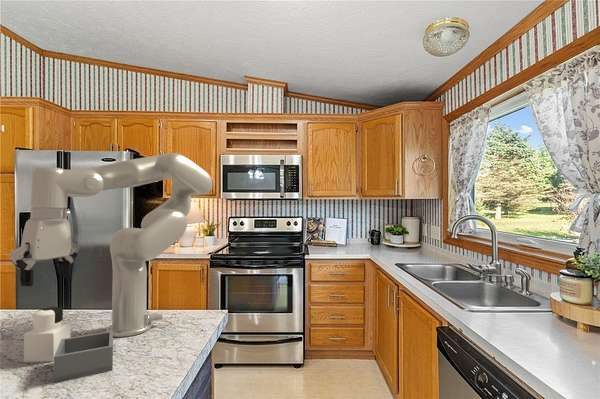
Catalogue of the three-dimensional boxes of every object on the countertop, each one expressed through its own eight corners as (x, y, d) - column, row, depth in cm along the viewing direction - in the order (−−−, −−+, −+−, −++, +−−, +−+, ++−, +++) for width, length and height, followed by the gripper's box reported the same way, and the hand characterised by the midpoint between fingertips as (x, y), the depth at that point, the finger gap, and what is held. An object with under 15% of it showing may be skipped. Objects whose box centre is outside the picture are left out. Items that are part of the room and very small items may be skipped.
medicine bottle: (42, 350, 88) (43, 305, 88) (70, 349, 89) (71, 304, 89) (22, 363, 81) (23, 313, 81) (53, 361, 82) (54, 313, 82)
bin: (112, 351, 87) (113, 330, 87) (112, 370, 78) (112, 346, 78) (60, 361, 82) (61, 339, 82) (53, 382, 72) (53, 357, 72)
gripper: (69, 214, 95) (67, 274, 94) (0, 215, 78) (-3, 288, 78) (90, 214, 93) (88, 276, 92) (23, 215, 76) (21, 290, 76)
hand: (46, 281), depth 85 cm, fingers open, 9 cm apart
